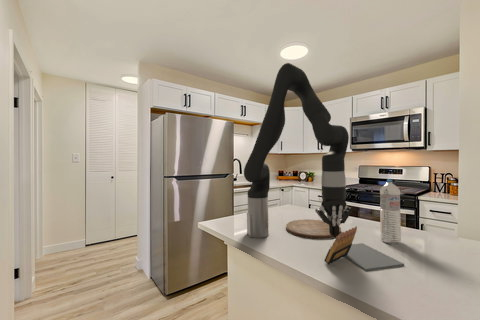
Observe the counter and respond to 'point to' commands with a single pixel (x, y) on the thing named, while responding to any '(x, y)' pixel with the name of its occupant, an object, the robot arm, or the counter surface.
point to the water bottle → (390, 213)
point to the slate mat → (370, 258)
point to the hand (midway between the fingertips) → (334, 236)
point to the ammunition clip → (340, 246)
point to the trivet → (309, 229)
